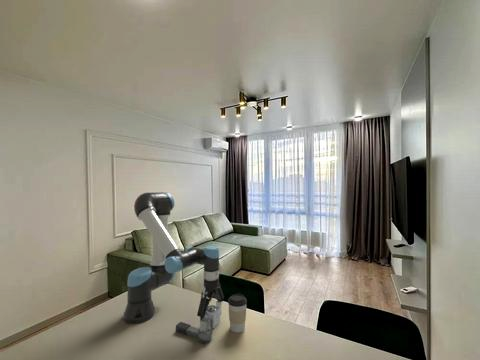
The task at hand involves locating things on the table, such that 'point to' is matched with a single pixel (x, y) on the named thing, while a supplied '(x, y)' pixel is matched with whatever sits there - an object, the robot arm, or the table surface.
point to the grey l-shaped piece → (197, 330)
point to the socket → (213, 315)
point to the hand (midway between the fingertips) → (211, 321)
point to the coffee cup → (237, 312)
